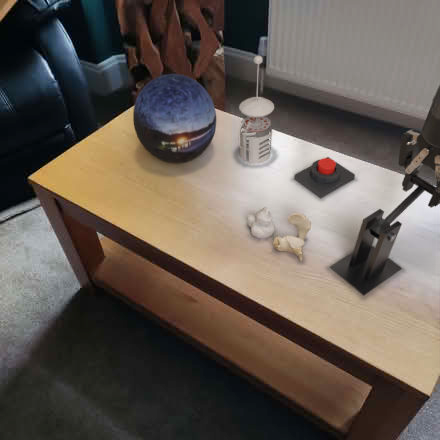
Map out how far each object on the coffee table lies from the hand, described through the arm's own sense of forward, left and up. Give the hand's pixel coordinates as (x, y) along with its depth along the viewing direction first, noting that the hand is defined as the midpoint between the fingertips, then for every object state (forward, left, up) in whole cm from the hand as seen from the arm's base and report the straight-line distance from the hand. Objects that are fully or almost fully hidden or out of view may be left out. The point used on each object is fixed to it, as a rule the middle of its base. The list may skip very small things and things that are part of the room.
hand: (419, 196), depth 79 cm
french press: (+16, -40, -14) cm, 45 cm away
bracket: (+10, +3, -14) cm, 17 cm away
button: (+4, -25, -10) cm, 28 cm away
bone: (+21, -7, -14) cm, 26 cm away
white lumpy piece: (+25, -15, -14) cm, 32 cm away
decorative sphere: (+33, -49, -14) cm, 61 cm away
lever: (+5, +1, -1) cm, 5 cm away
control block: (+4, -25, -14) cm, 29 cm away
